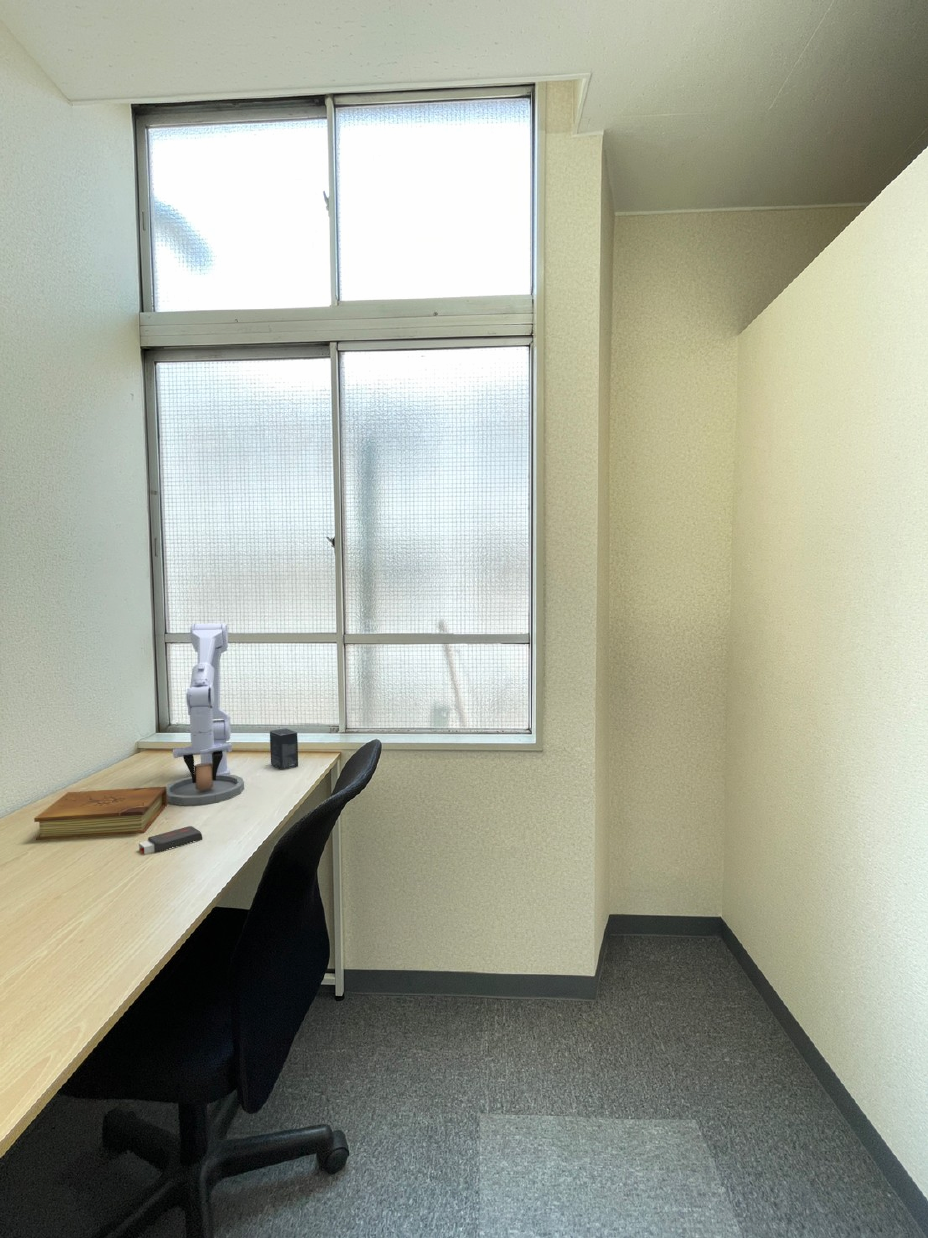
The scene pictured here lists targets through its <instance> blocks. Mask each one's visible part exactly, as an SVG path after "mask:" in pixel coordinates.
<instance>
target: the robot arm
mask: <svg viewBox="0 0 928 1238" xmlns="http://www.w3.org/2000/svg"><path fill="white" fill-rule="evenodd" d="M189 636H190V641H191V644H192V648H193V649H194V651H195V653H197V664H195V665H194V666H193V668H192V672H191V677H190V678H191V679H190V685H189V688H187V689H186V694H185V701H186V707H187V714H188V716H189V727H190V728H189V731H190V732H189V733H190V746H186V747H182V748H181V747H180V748H175V749H172V754H173V755H172V757H173V759H178V758H183V761H184V763H185V765H186V766H187V769H188V771H189V773H190V777H192V782H193V783H196V780H195V767H194V766H195V758H194V756H200V763H212V767H213V780H216V774H229V775H231V773H230V769H229V767H228V761H227V759H228V758H227V757H228V756H227V755H228V754H227V753H230V752H232V751H233V749H232V743H231V742H228V741H229V740H231V736H232V734H231V733H232V723H231V716H230V715H229V713H227V712H226V711H224V710H223V709H222V708H221V666H220V665H221V663H220V662H221V661H220V660H221V657H222V653H225V652H227V651H228V646H229V644H228V643H229V640H228V639H229V630H228V624H227V623H226V622H220V623H219V622H218V623H217V622H213V623H211V622H209V623H192V624H191V626H190V630H189ZM227 742H228V743H227Z"/></svg>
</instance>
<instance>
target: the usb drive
mask: <svg viewBox="0 0 928 1238" xmlns="http://www.w3.org/2000/svg"><path fill="white" fill-rule="evenodd" d="M202 840H203V835H202V832H201V831H200V830H199V829H197V828H196V827H194V826H191V825H188V826H185V827H181V828H178V829H174V830H171V831H167V832H163V833H160V834H156V835H151V836H148V837H147V840H145V841H141V842H138V851H140V852H141V853H142V852H143V853H142V854H143V855H149V854H152V853H161V852H165V851H167V850H166V849H168V850H170V849H169V848H172V847H175V848H177V847H176V846H179V847H182V846H185V845H184V844H186V845H188V844H187V843H189V844H191V843H190V842H192V843H194V842H193V841H196V842H198V841H199V842H200V841H202ZM181 845H182V846H181ZM172 849H173V848H172ZM164 850H165V851H164ZM160 851H161V852H160ZM151 852H152V853H151ZM148 853H149V854H148Z"/></svg>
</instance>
